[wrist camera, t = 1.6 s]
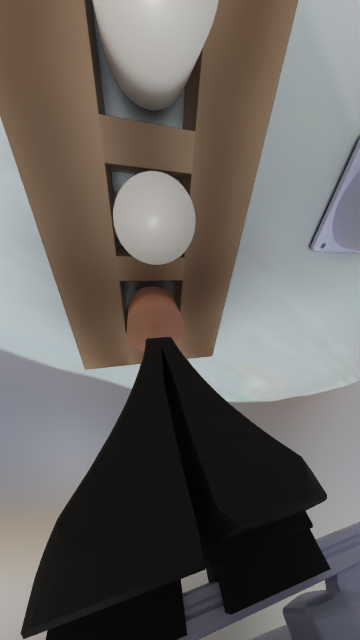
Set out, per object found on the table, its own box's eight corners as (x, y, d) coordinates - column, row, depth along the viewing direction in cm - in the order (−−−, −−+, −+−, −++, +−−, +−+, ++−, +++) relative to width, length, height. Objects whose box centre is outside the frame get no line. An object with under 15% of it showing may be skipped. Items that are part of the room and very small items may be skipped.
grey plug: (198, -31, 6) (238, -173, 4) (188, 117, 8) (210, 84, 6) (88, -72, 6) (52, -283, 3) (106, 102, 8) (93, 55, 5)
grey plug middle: (183, 182, 10) (200, 176, 7) (179, 251, 12) (191, 265, 9) (114, 174, 9) (106, 165, 6) (122, 249, 11) (118, 264, 8)
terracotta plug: (177, 285, 13) (186, 305, 10) (174, 325, 15) (181, 349, 12) (125, 286, 12) (123, 307, 10) (130, 328, 14) (129, 354, 12)
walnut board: (287, -113, 7) (363, -269, 5) (203, 337, 21) (212, 356, 18) (-92, -322, 5) (-330, -870, 2) (91, 346, 18) (85, 369, 16)
